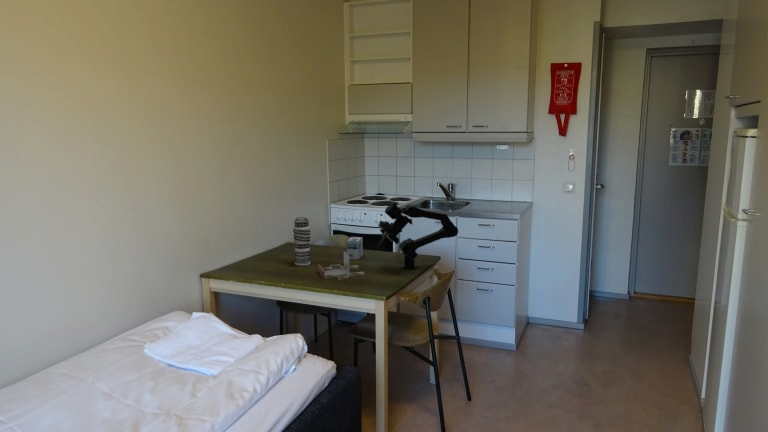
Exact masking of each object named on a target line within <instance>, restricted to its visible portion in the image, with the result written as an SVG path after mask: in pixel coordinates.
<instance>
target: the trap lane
mask: <svg viewBox="0 0 768 432" xmlns="http://www.w3.org/2000/svg"><path fill="white" fill-rule="evenodd" d="M338 269H344V265H343V266H342V265H341V264H340V263H339V264H330V265H329V267H322V265H321V264H319V263H318V264H317V272H318V273H319V275H320V277H321V278H322V279H333V278H336V279H337V280H338V281H341V280H342V281H343V280H344V281H345V280H350V277H356V276H357V277H358V276H359V277H360V276H365V271H359V272H357V271H356V272H350V273H346V276H338V275H337V274H331V275H325V272H324V271H326V270H338ZM349 269H350V270H354V269H355V270H356V269H359V265H358V264H357V265H356V264H355V265H349Z"/></svg>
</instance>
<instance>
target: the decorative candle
mask: <svg viewBox="0 0 768 432" xmlns="http://www.w3.org/2000/svg"><path fill="white" fill-rule="evenodd" d="M293 221H294V224H293V225H294V227H293V229H292V230H293V231H292V232H293V239H294V240H293V243H294V245H295V247H294V264H295V266H296V265H297V266H308V265H311V257H312V256H311V248H310V243H311V229H310V225H309V223H310V219H308V217H305V216H304V217H303V216H299V217H296V218H295V219H294V220H293Z"/></svg>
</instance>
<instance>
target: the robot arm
mask: <svg viewBox="0 0 768 432" xmlns="http://www.w3.org/2000/svg"><path fill="white" fill-rule="evenodd" d="M384 213H385V214H386V215H387V216H388V217H389V218H391V220H394V221H393V222H389V221H387V220H386V221H382V220H380V221H379V223H378V225H377V226H378V227H379V228H380V229H379V232H380V233H381V240H380V241H379V244H378V245H377V248H378V249H382V248H384V247H386V246H389V245H391V244H394V243H395V244H396V245H398V244H399V247H398V249H399V252H401V253H402V256H403V255H404V256H403V265H402V266H401V269H405V270H406V269H407V270H414V269H416V268H418V265H416V258H417V257H418V253H417V250H418V249H419V248H422V247H424V246H427V245H430V244H432V243H434V242H436V241H439V240H441V239H450V238H454V237H457V235H458V234H459V228H458V227H457V226H456V225H454V223H453V222H452V220H451V219H450V217H449V216H448V214H446V213H444V212H438V211H437V212H436V211H433V210H432V211H431V210H425V209H421V208H419V207H416V206H413V205H412V204H408V205H406V206H405V207H401V208H400V207H399V206H398V205H397V204H396V203H395V202H392V203H391V204H389V205H388V206H387V207H385V210H384ZM409 217H410V218H409ZM413 218H416V219H417V218H425V219H431V220H436V221H440V223H441V226H442V227H440V229H438V230H437V231H434V232H432V233H429V234H427V235H424V236H421V237H419V238H416V239H412V238H411V237H409V238H407V239H404V240H402V242H400V239H399V237H398V235H399V234H400V233H402V232H403V229H404V228H405V227H406V226H407V225H408V224H409V225H413ZM399 242H400V243H399Z"/></svg>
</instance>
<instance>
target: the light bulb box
mask: <svg viewBox="0 0 768 432" xmlns="http://www.w3.org/2000/svg"><path fill="white" fill-rule="evenodd" d="M363 243H364V242H363V237H362V236H361V237H359V236H351V237H350V238H348V239H347V240H346V253H347V254H348V255H349V260H360V259H361V258H362V257H363V256H364V255H363V254H364V253H363V252H364V251H363V250H364V249H363V247H364V246H363Z"/></svg>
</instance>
